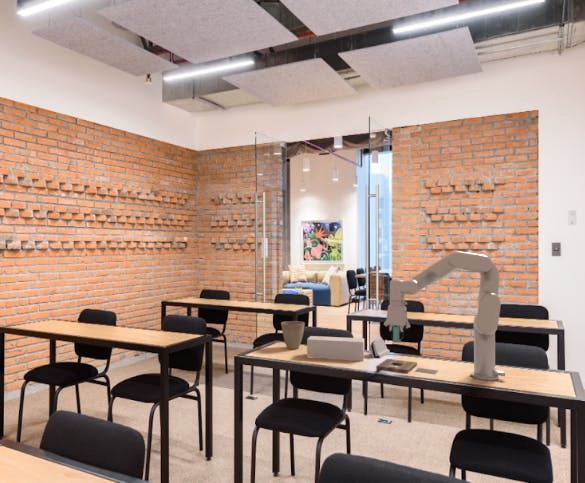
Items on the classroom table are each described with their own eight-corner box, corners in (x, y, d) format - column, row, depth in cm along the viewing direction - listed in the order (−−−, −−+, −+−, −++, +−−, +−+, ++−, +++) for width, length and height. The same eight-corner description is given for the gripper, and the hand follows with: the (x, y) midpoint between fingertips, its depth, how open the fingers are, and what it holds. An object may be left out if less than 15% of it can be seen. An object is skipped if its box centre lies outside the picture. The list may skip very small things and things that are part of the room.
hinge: (380, 358, 260) (374, 341, 262) (372, 360, 263) (367, 343, 265) (390, 352, 274) (385, 336, 276) (383, 354, 277) (378, 338, 279)
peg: (401, 341, 236) (401, 326, 236) (399, 342, 232) (399, 327, 233) (394, 340, 238) (394, 325, 238) (391, 342, 234) (391, 326, 235)
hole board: (416, 368, 239) (416, 362, 239) (407, 376, 223) (407, 369, 223) (387, 364, 247) (387, 358, 247) (376, 371, 231) (376, 365, 231)
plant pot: (304, 345, 293) (304, 320, 294) (305, 350, 278) (305, 324, 279) (281, 345, 293) (281, 320, 293) (280, 350, 278) (281, 324, 279)
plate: (438, 373, 229) (438, 370, 229) (434, 377, 222) (434, 374, 222) (418, 370, 233) (418, 367, 233) (414, 374, 226) (414, 371, 226)
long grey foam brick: (306, 358, 261) (307, 339, 261) (310, 353, 271) (310, 335, 271) (363, 361, 254) (363, 342, 254) (364, 357, 264) (364, 338, 264)
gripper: (415, 304, 235) (414, 339, 234) (383, 301, 243) (383, 336, 243) (411, 305, 228) (410, 342, 228) (379, 303, 236) (378, 338, 236)
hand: (396, 338), depth 235 cm, fingers closed on peg, 4 cm apart
